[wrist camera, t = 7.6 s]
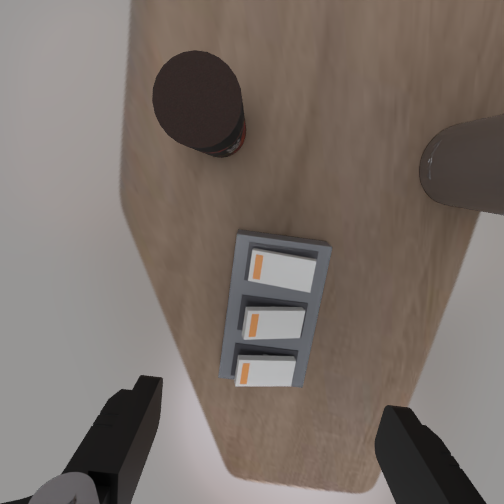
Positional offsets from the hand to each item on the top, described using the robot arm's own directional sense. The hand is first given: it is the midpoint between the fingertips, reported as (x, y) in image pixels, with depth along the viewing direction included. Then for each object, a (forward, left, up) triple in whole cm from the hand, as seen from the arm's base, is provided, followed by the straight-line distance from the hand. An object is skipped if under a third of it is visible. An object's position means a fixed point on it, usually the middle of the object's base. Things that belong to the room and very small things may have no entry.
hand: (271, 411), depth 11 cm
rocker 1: (-3, +2, -24) cm, 24 cm away
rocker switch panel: (-3, +9, -28) cm, 30 cm away
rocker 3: (-3, +15, -24) cm, 28 cm away
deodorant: (+6, -12, -28) cm, 31 cm away
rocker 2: (-3, +9, -24) cm, 25 cm away
